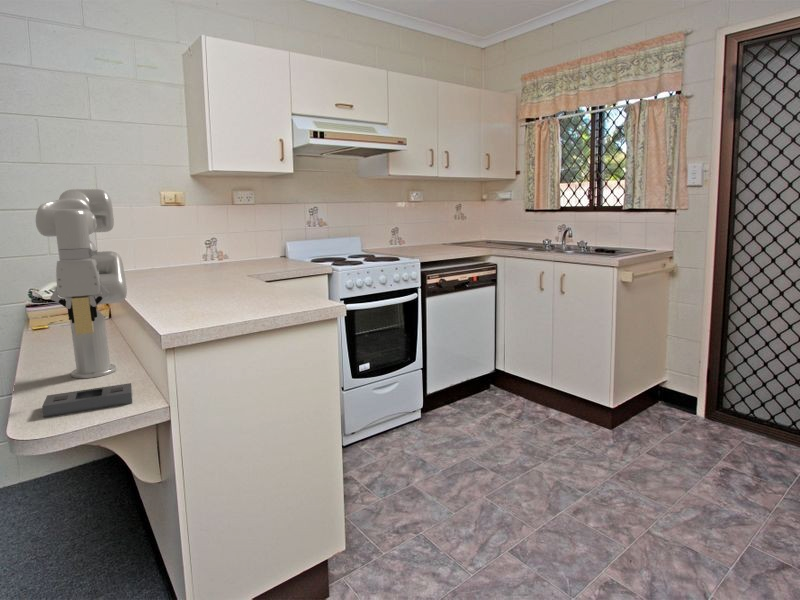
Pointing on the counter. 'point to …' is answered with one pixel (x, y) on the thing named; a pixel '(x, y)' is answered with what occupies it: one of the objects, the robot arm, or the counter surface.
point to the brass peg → (82, 315)
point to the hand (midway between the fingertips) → (83, 320)
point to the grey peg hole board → (87, 400)
